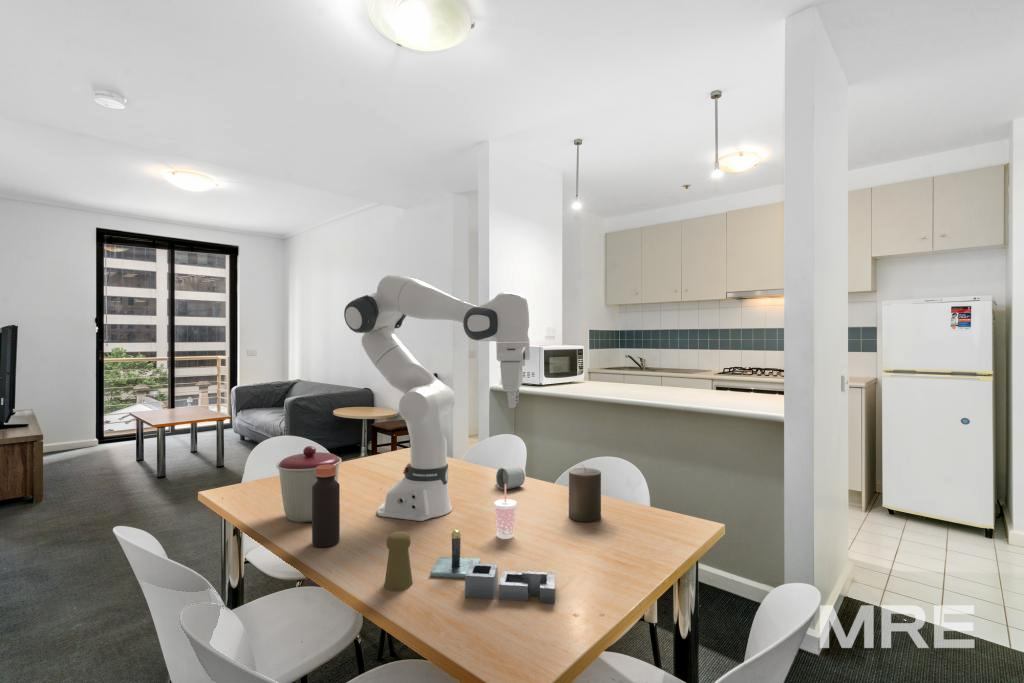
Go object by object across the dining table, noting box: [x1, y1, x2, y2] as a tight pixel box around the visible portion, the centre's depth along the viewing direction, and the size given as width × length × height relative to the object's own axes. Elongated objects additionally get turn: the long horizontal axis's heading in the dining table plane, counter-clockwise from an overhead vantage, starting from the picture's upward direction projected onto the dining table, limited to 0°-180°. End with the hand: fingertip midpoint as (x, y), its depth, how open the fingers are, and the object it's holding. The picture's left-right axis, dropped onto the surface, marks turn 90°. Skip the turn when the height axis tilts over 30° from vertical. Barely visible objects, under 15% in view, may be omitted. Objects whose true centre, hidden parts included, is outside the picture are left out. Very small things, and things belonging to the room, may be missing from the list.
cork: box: [384, 531, 413, 592], centre depth 109 cm, size 6×6×11 cm
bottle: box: [311, 464, 341, 549], centre depth 131 cm, size 7×7×20 cm
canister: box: [276, 445, 342, 523], centre depth 150 cm, size 18×18×21 cm
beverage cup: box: [493, 484, 518, 540], centre depth 136 cm, size 6×6×14 cm
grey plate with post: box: [429, 529, 481, 579], centre depth 116 cm, size 10×8×9 cm
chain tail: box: [498, 570, 556, 605], centre depth 105 cm, size 12×7×4 cm, turn 84°
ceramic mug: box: [495, 466, 526, 491], centre depth 181 cm, size 11×8×8 cm
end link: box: [464, 562, 499, 600], centre depth 106 cm, size 6×6×4 cm
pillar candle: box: [568, 467, 602, 523], centre depth 150 cm, size 10×10×15 cm
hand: (513, 405), depth 133 cm, fingers open, 8 cm apart
